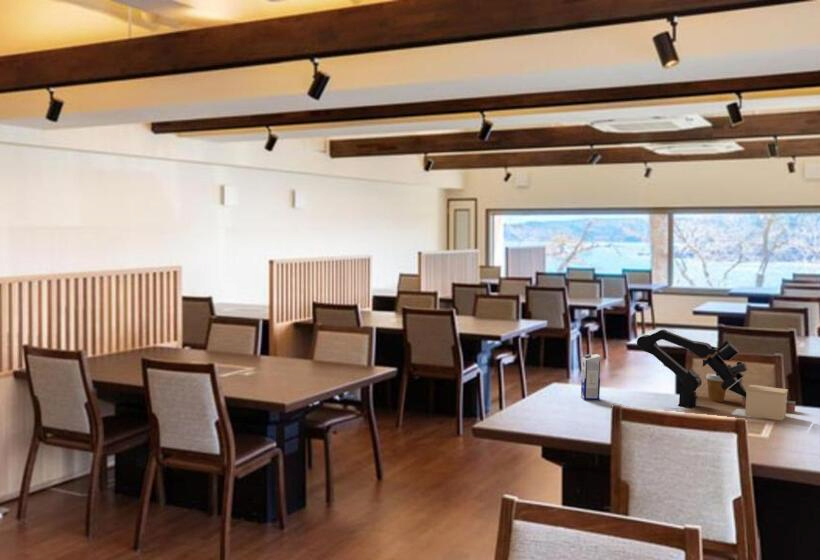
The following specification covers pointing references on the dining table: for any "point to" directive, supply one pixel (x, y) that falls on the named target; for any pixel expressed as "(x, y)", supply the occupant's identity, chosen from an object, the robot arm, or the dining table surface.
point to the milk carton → (590, 377)
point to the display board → (742, 413)
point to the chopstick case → (789, 405)
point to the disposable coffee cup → (715, 388)
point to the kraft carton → (766, 402)
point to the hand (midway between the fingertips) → (747, 396)
